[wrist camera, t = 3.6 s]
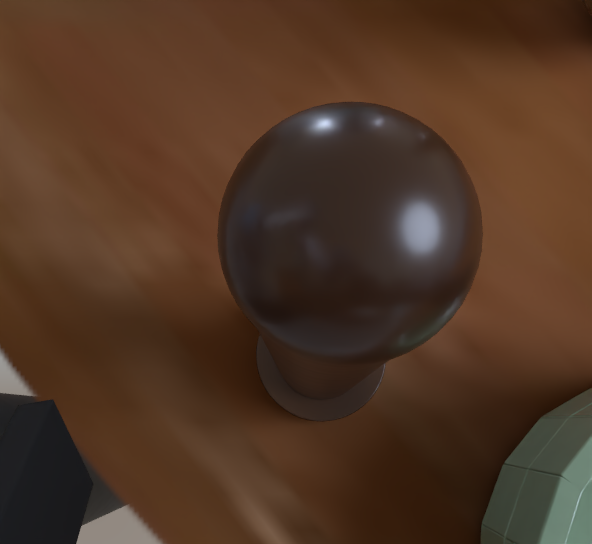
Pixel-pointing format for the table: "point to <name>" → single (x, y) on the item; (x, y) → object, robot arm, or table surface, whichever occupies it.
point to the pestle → (346, 249)
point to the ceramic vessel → (588, 5)
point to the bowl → (546, 482)
